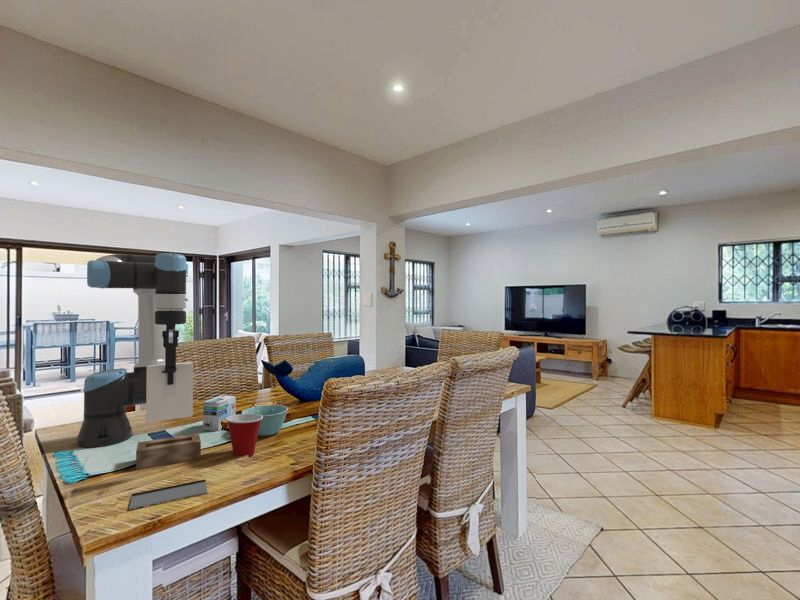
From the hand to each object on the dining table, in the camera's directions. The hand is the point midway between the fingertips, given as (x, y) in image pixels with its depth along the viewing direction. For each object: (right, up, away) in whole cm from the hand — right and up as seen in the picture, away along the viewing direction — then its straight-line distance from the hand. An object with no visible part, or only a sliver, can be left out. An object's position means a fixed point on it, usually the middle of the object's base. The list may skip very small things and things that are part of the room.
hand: (170, 394), depth 110 cm
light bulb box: (-4, -22, +40) cm, 46 cm away
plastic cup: (+15, -22, +13) cm, 30 cm away
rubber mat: (+4, -22, -7) cm, 23 cm away
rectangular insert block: (0, -7, 0) cm, 7 cm away
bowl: (+15, -22, +34) cm, 43 cm away
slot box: (-4, -22, +7) cm, 23 cm away
